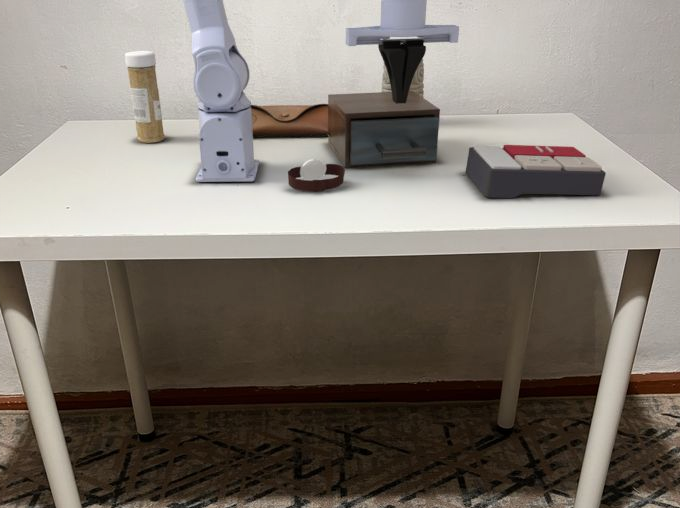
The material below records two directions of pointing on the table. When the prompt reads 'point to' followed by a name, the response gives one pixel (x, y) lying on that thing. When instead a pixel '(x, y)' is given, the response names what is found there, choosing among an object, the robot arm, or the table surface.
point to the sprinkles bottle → (145, 96)
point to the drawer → (393, 139)
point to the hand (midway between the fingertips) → (399, 102)
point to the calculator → (533, 171)
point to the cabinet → (369, 107)
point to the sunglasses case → (290, 120)
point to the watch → (315, 176)
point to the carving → (415, 84)
